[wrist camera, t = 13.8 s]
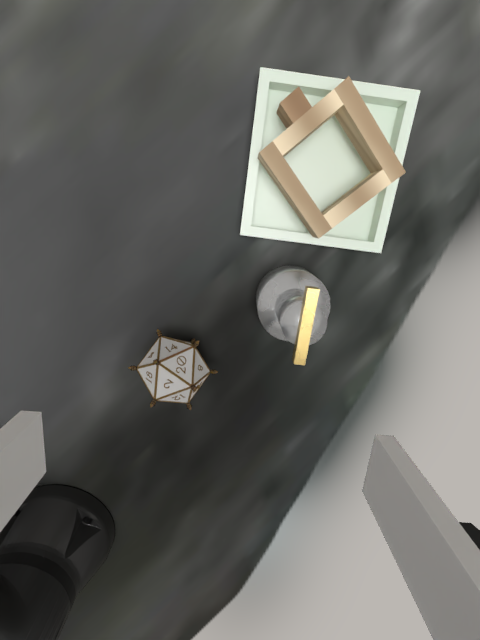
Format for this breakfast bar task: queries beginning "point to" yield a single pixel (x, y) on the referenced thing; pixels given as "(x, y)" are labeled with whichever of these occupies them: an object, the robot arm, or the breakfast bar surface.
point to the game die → (173, 370)
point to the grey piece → (293, 307)
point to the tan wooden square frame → (361, 134)
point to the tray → (323, 162)
